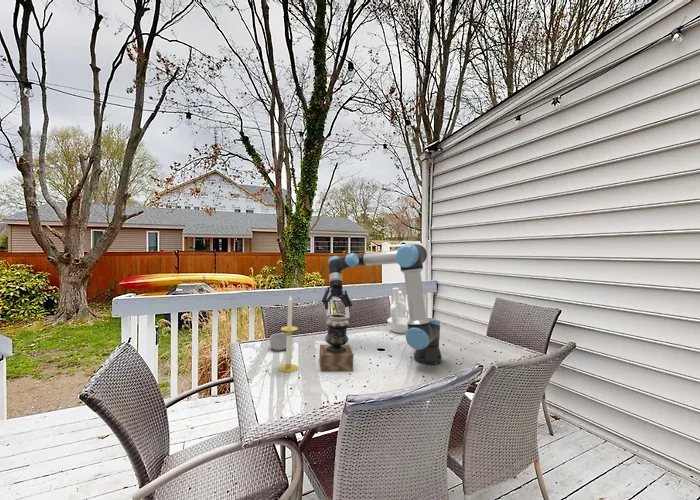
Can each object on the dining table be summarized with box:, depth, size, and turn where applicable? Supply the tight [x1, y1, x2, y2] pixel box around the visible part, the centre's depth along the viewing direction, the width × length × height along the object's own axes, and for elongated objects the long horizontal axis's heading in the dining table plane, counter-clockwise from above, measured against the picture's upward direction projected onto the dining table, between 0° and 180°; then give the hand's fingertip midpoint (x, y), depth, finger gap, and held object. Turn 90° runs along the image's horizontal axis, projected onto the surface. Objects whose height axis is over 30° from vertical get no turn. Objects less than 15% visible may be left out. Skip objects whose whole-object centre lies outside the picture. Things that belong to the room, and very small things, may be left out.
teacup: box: [269, 331, 287, 352], centre depth 202 cm, size 14×11×8 cm
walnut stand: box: [318, 344, 354, 372], centre depth 180 cm, size 16×16×8 cm
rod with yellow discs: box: [277, 294, 299, 373], centre depth 172 cm, size 10×10×38 cm
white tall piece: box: [386, 287, 410, 334], centre depth 243 cm, size 18×22×32 cm
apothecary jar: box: [324, 313, 350, 353], centre depth 179 cm, size 12×12×18 cm
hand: (338, 316), depth 194 cm, fingers open, 13 cm apart
